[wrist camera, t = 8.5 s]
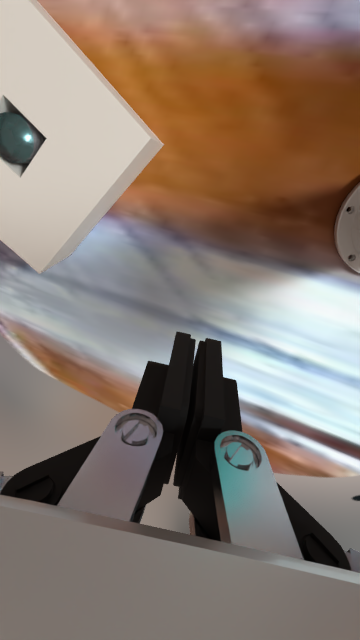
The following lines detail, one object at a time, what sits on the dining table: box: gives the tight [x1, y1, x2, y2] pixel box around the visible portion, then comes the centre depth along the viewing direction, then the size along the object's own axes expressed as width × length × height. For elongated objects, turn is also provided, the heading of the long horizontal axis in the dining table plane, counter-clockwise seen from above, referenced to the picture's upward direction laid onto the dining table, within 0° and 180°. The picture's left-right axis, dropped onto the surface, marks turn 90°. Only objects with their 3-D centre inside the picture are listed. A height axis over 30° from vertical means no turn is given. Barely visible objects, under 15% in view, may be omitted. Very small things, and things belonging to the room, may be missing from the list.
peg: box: [0, 112, 47, 164], centre depth 31 cm, size 4×4×8 cm
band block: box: [0, 0, 164, 274], centre depth 31 cm, size 18×18×8 cm
